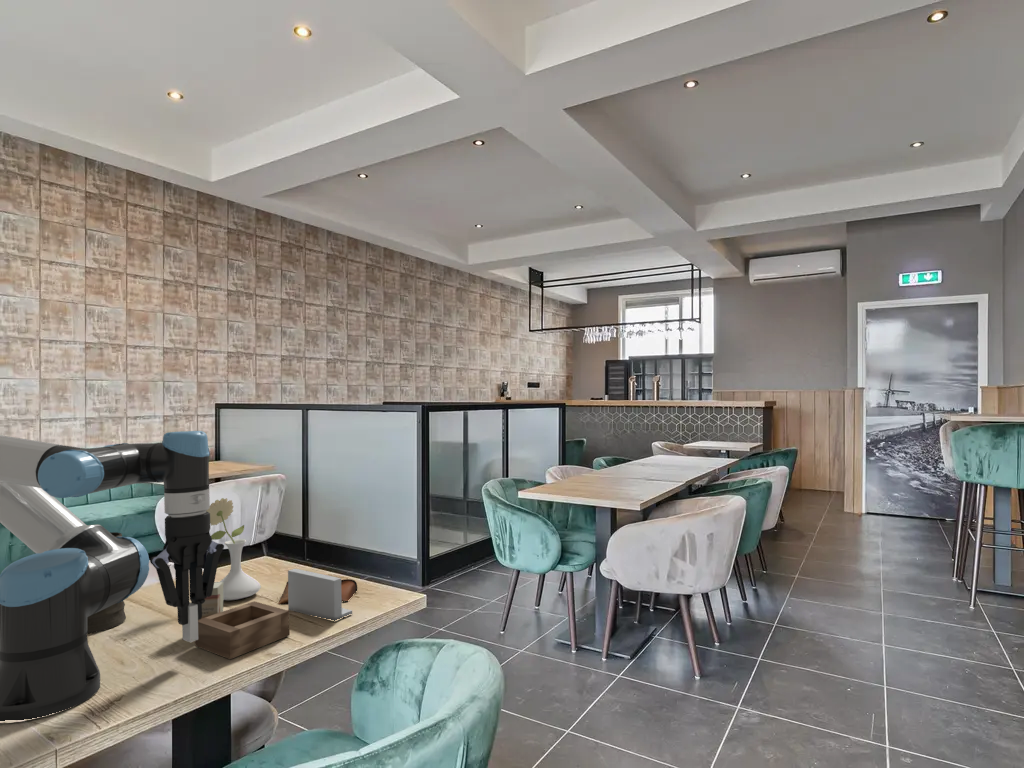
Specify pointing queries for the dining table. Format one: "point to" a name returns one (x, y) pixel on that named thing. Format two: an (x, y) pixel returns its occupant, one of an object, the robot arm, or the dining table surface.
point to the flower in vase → (232, 555)
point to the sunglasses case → (346, 591)
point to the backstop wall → (315, 594)
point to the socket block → (242, 629)
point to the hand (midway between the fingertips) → (190, 639)
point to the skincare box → (213, 601)
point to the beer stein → (107, 613)
